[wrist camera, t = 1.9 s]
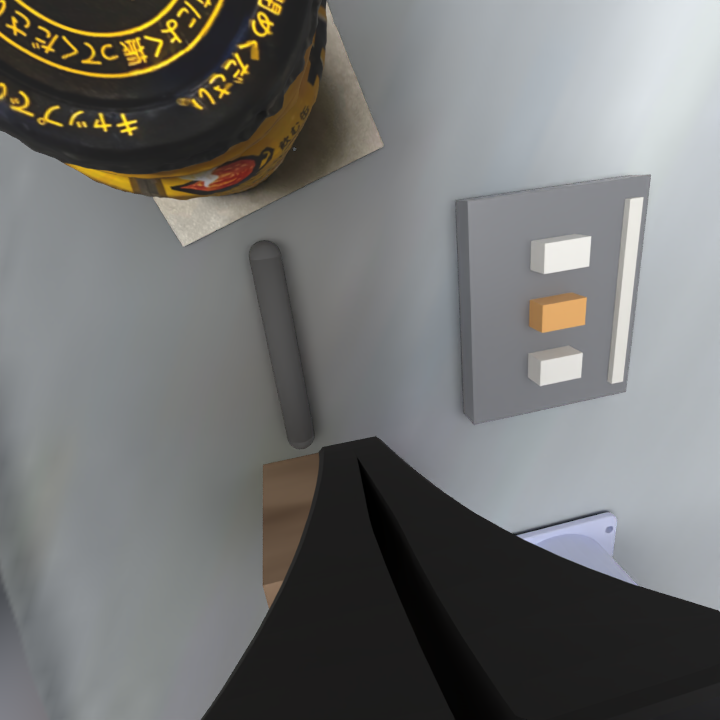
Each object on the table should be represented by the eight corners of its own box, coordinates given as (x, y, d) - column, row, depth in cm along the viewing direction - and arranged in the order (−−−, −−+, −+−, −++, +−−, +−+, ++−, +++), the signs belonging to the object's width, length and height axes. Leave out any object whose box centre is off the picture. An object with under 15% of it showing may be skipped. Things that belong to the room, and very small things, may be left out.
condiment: (53, 34, 14) (-673, -495, 3) (292, -84, 14) (389, -980, 3) (184, 246, 17) (42, 351, 6) (382, 146, 17) (589, 75, 6)
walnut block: (356, 512, 23) (392, 636, 17) (279, 530, 23) (285, 666, 16) (346, 446, 22) (381, 555, 15) (263, 464, 21) (262, 585, 15)
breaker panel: (608, 382, 23) (641, 400, 21) (463, 413, 22) (483, 435, 20) (629, 175, 20) (671, 174, 18) (455, 200, 18) (479, 201, 16)
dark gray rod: (314, 437, 21) (317, 451, 20) (289, 442, 21) (290, 456, 20) (277, 236, 18) (278, 240, 16) (246, 241, 17) (245, 244, 16)
